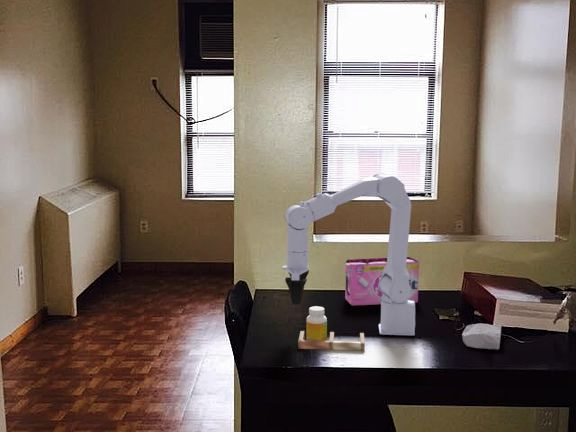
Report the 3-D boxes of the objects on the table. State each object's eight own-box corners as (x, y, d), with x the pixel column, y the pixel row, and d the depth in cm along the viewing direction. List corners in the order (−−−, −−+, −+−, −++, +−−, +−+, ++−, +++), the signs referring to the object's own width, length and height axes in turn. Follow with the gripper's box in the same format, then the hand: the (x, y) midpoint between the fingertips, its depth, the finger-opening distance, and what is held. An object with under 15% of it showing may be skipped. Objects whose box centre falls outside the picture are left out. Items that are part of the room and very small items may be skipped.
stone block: (463, 353, 167) (502, 350, 163) (460, 335, 166) (499, 332, 163) (465, 340, 178) (503, 337, 174) (463, 323, 178) (500, 320, 174)
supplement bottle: (325, 348, 165) (325, 312, 163) (304, 346, 166) (304, 310, 164) (328, 341, 170) (328, 306, 169) (308, 339, 171) (308, 304, 170)
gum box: (347, 306, 202) (348, 264, 200) (340, 299, 209) (341, 259, 207) (418, 302, 206) (419, 261, 204) (409, 295, 214) (410, 256, 212)
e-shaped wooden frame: (363, 340, 171) (363, 333, 170) (364, 350, 163) (364, 343, 163) (300, 338, 172) (300, 330, 172) (298, 348, 164) (298, 341, 164)
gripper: (285, 245, 177) (285, 292, 179) (279, 256, 163) (279, 307, 165) (310, 245, 177) (310, 292, 179) (307, 256, 162) (307, 308, 164)
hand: (297, 300), depth 172 cm, fingers open, 7 cm apart
